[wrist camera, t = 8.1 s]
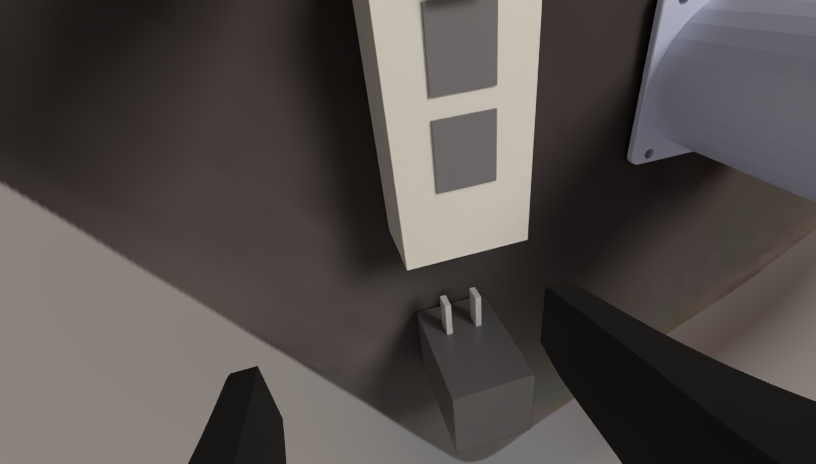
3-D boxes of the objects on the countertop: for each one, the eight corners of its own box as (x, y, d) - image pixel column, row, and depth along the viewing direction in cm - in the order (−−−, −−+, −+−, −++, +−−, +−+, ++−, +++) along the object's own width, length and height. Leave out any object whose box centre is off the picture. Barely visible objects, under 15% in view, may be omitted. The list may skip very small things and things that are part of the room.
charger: (483, 266, 23) (538, 344, 18) (484, 347, 26) (530, 430, 21) (412, 285, 22) (450, 370, 17) (423, 365, 25) (457, 454, 21)
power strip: (497, -423, 11) (596, -601, 7) (494, 204, 21) (534, 247, 18) (283, -429, 10) (286, -633, 6) (389, 229, 20) (410, 279, 17)
